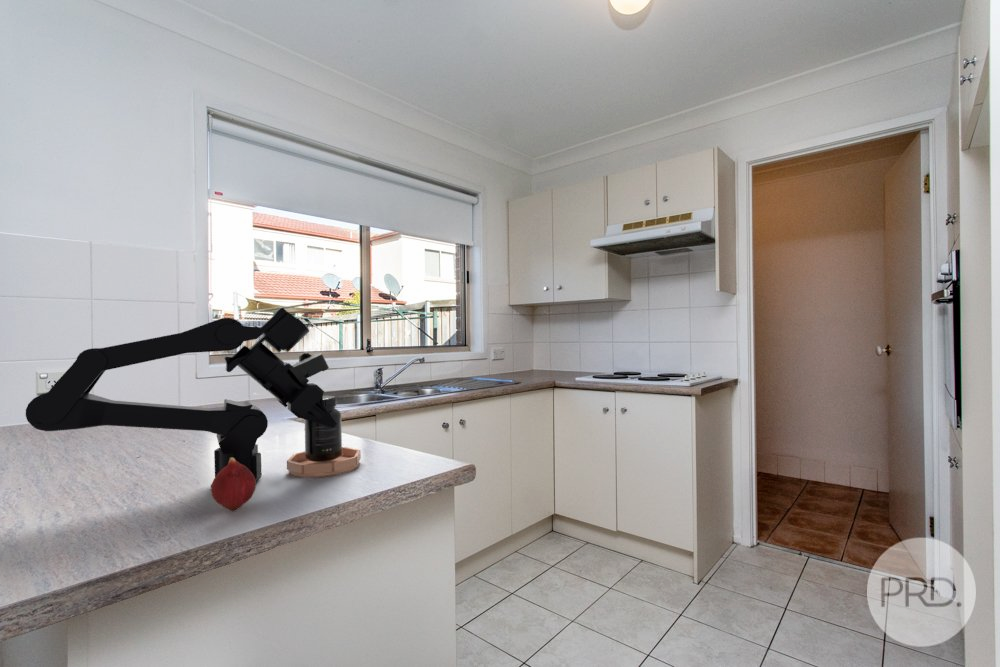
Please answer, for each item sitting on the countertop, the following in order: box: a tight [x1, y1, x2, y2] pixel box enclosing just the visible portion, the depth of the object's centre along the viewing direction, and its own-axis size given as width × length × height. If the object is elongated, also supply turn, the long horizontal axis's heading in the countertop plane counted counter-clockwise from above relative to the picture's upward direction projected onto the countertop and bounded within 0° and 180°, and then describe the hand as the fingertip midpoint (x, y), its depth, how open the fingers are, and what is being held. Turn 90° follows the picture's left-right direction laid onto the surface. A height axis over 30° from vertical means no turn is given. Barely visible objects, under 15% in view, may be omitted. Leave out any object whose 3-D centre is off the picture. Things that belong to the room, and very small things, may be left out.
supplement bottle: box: [304, 395, 343, 462], centre depth 94 cm, size 7×7×12 cm
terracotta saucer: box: [286, 446, 362, 479], centre depth 94 cm, size 13×13×2 cm
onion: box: [210, 458, 257, 512], centre depth 72 cm, size 6×6×8 cm
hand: (330, 423), depth 94 cm, fingers closed on supplement bottle, 6 cm apart
